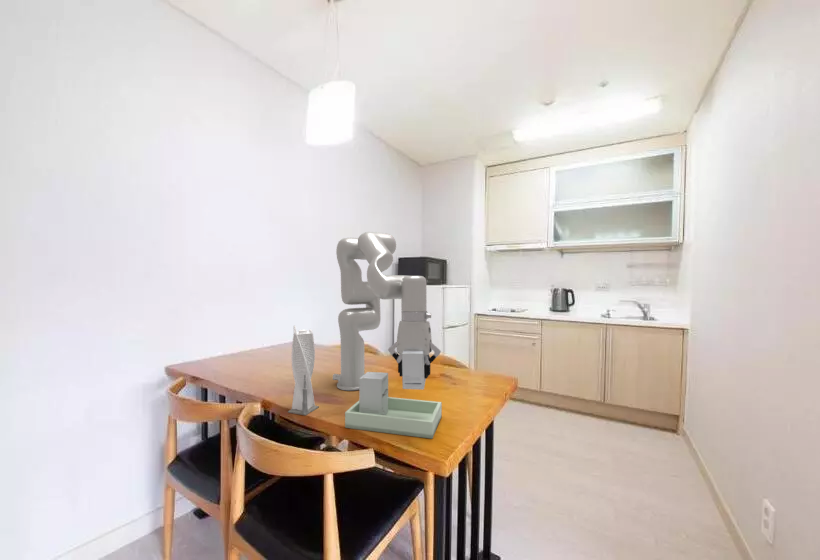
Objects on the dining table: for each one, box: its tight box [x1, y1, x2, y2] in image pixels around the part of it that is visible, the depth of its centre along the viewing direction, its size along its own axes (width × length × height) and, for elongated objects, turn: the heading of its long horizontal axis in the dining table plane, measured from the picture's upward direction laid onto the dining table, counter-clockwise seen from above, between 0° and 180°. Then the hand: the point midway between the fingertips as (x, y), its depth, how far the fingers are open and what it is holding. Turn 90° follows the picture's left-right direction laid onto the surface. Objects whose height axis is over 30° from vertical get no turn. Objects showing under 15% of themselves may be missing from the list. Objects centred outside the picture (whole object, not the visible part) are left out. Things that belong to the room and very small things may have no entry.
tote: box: [344, 396, 443, 440], centre depth 99 cm, size 26×15×4 cm, turn 75°
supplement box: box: [358, 371, 389, 415], centre depth 102 cm, size 7×7×13 cm
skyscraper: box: [287, 325, 320, 416], centre depth 110 cm, size 8×8×28 cm
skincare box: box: [402, 350, 426, 391], centre depth 98 cm, size 10×6×10 cm, turn 174°
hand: (414, 375), depth 98 cm, fingers closed on skincare box, 7 cm apart
